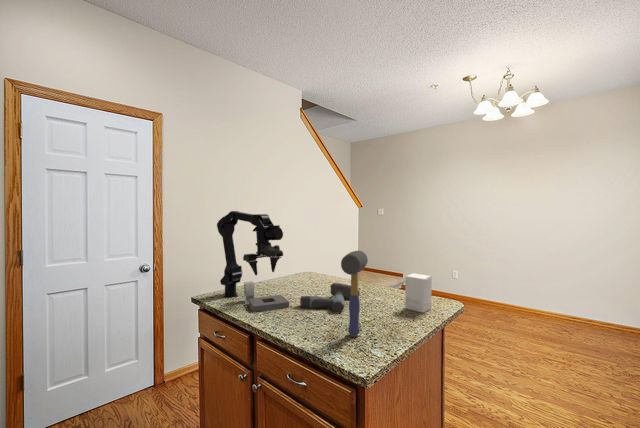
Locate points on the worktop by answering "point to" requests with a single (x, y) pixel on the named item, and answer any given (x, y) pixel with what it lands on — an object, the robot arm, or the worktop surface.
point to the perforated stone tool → (341, 289)
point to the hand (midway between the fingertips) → (264, 273)
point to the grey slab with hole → (268, 303)
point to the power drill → (324, 302)
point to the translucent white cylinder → (248, 291)
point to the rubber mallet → (354, 286)
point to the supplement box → (418, 292)
